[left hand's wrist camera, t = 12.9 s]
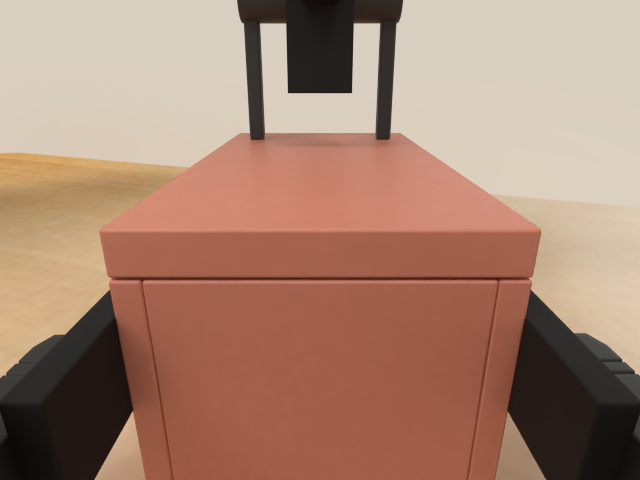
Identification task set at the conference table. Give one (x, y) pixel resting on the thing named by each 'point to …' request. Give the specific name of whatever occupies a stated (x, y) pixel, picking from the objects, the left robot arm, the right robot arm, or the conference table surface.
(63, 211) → the conference table surface
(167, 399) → the chest
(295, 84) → the right robot arm
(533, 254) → the lid
